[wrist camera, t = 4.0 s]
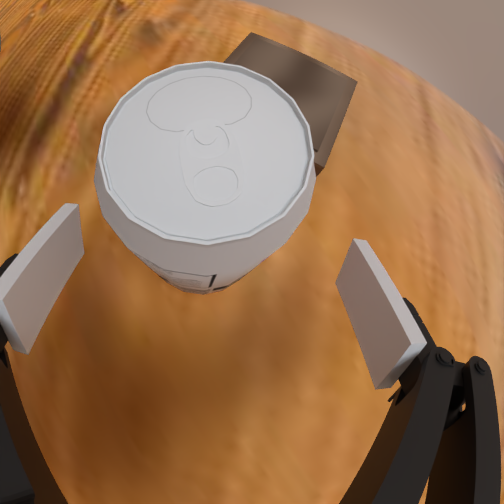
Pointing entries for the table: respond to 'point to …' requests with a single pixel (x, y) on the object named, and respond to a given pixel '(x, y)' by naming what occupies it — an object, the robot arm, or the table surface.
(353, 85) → the stand
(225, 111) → the supplement can
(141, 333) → the table surface
